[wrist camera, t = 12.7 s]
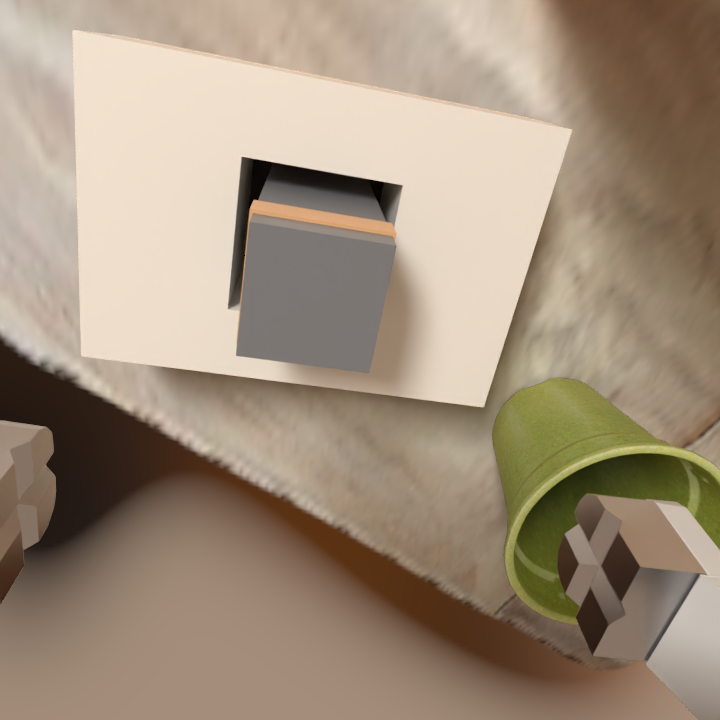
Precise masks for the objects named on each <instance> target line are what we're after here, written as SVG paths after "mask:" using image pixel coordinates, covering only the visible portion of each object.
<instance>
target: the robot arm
mask: <svg viewBox="0 0 720 720" xmlns="http://www.w3.org/2000/svg"><path fill="white" fill-rule="evenodd" d="M53 452H54V448H53V439H52V433H51V431H50V430H49V429H48V428H47V427H42V426H36V425H28V424H22V423H15V422H7V421H0V604H1V603H2V601H3V600H4V598H5V596H6V595H7V593H8V591H9V590H10V588H11V586H12V585H13V583H14V582H15V580H16V578H17V576H18V575H19V573H20V572H21V570H22V568H23V567H24V556H23V550H24V549H26V548H28V547H29V546H31V545H33V544H35V543H36V542H38V541H39V540H40V538H41V536H42V535H43V533H44V531H45V529H46V527H47V526H48V523H49V520H50V517H51V514H52V511H53V508H54V503H55V494H56V479H55V476H54V475H53V473H52V472H51V471H50V470H49V469H48V468H47V466H46V465H45V464H46V463H47V461H48V459H49V458H50V457H51V455H52V454H53ZM574 514H575V516H576V519H577V522H578V525H576V526H575V527H573V528H572V529H571V530H569V531H568V532H566V533H565V534H564V537H563V539H562V542H561V544H560V547H559V549H558V563H557V568H558V573H559V579H560V582H561V584H562V587H563V589H564V592H565V594H567V595H568V596H569V597H570V598H571V599H572V600H573V601H574V602H576V603H577V604H578V605H579V606H580V607H579V610H578V613H577V615H576V619H577V622H578V624H579V626H580V628H581V631H582V633H583V635H584V638H585V640H586V642H587V644H588V647H589V649H590V651H591V653H592V656H599V657H608V658H616V659H625V660H633V661H642V662H647V663H646V666H647V667H648V668H649V669H650V670H652V672H653V673H654V674H655V675H656V676H657V677H658V678H659V679H660V680H661V681H662V682H663V683H664V684H665V685H666V686H667V687H668V689H670V691H671V692H672V693H673V694H674V695H675V696H676V697H677V698H678V699H679V700H680V701H681V702H682V703H683V704H684V705H685V706H686V707H687V708H688V709H689V710H690V711H691V713H692V714H693V715H694V716H695V717H696V718H697V719H698V720H720V550H719V549H718V547H717V546H716V545H715V544H714V542H713V541H712V540H711V539H710V537H709V536H708V535H707V533H706V532H705V531H704V530H703V528H702V527H701V526H700V525H699V523H698V522H697V521H696V520H695V518H694V517H693V516H692V514H691V513H690V512H689V511H688V509H687V508H686V507H684V506H683V505H681V504H679V503H678V502H673V501H662V500H651V499H646V500H641V499H632V498H624V497H615V496H606V495H598V494H589V493H587V494H586V495H585V496H584V497H583V498H582V499H581V500H580V501H579V503H578V505H577V507H576V509H575V512H574Z"/></svg>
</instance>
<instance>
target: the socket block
mask: <svg viewBox="0 0 720 720" xmlns="http://www.w3.org/2000/svg"><path fill="white" fill-rule="evenodd" d="M73 64H74V102H75V139H76V177H77V214H78V252H79V289H80V327H81V356H83V357H91V358H99V359H107V360H115V361H122V362H130V363H138V364H146V365H154V366H162V367H170V368H177V369H185V370H193V371H201V372H209V373H217V374H225V375H232V376H240V377H248V378H256V379H264V380H272V381H280V382H287V383H295V384H303V385H311V386H319V387H327V388H335V389H342V390H350V391H358V392H366V393H374V394H382V395H390V396H398V397H405V398H413V399H421V400H429V401H437V402H445V403H453V404H460V405H468V406H476V407H484V405H485V402H486V399H487V396H488V392H489V389H490V386H491V383H492V380H493V377H494V374H495V371H496V367H497V364H498V361H499V358H500V355H501V352H502V349H503V345H504V342H505V339H506V336H507V333H508V330H509V327H510V324H511V320H512V317H513V314H514V311H515V308H516V305H517V302H518V299H519V295H520V292H521V289H522V286H523V283H524V280H525V277H526V273H527V270H528V267H529V264H530V261H531V258H532V255H533V252H534V248H535V245H536V242H537V239H538V236H539V233H540V230H541V227H542V223H543V220H544V217H545V214H546V211H547V208H548V205H549V201H550V198H551V195H552V192H553V189H554V186H555V183H556V180H557V176H558V173H559V170H560V167H561V164H562V161H563V158H564V155H565V151H566V148H567V145H568V142H569V139H570V136H571V133H572V129H568V128H565V127H561V126H558V125H554V124H550V123H547V122H543V121H540V120H536V119H532V118H529V117H525V116H520V115H515V114H510V113H505V112H500V111H495V110H490V109H485V108H480V107H475V106H470V105H465V104H460V103H455V102H450V101H445V100H440V99H435V98H430V97H425V96H420V95H415V94H410V93H405V92H400V91H395V90H390V89H385V88H380V87H375V86H370V85H365V84H360V83H355V82H350V81H345V80H340V79H336V78H331V77H326V76H321V75H316V74H311V73H306V72H301V71H296V70H291V69H286V68H281V67H276V66H271V65H266V64H261V63H256V62H251V61H246V60H241V59H236V58H231V57H226V56H221V55H216V54H211V53H206V52H201V51H196V50H191V49H186V48H181V47H176V46H171V45H166V44H161V43H156V42H151V41H146V40H141V39H136V38H131V37H126V36H121V35H112V34H103V33H95V32H86V31H78V30H73ZM253 159H258V160H264V161H269V162H275V163H280V164H286V165H292V166H297V167H303V168H308V169H314V170H320V171H325V172H331V173H337V174H342V175H348V176H353V177H359V178H365V179H370V180H376V181H381V182H384V184H383V189H382V194H381V199H380V204H379V206H380V208H381V211H382V213H383V215H384V218H385V220H386V222H389V223H392V224H393V227H394V229H395V231H396V233H397V234H396V238H395V243H396V245H397V247H396V251H395V256H394V261H393V265H392V270H391V275H390V279H389V284H388V289H387V293H386V298H385V303H384V307H383V312H382V317H381V321H380V326H379V331H378V335H377V340H376V345H375V349H374V354H373V359H372V363H371V368H370V373H363V372H355V371H347V370H340V369H332V368H324V367H317V366H309V365H302V364H294V363H286V362H279V361H271V360H263V359H256V358H248V357H241V356H236V349H237V344H236V340H237V330H238V320H239V310H240V300H241V290H242V281H243V271H244V267H243V259H244V249H245V238H246V228H247V218H248V208H249V198H250V188H251V178H252V168H253Z"/></svg>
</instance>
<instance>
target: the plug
mask: <svg viewBox="0 0 720 720" xmlns="http://www.w3.org/2000/svg"><path fill="white" fill-rule="evenodd" d="M396 234H397V233H396V231H395V229H394V227H393V224H392V223H389V222H386V220H385V218H384V215H383V213H382V211H381V208H380V206H379V204H378V201H377V199H376V197H375V195H374V192H373V190H372V188H371V185H370V183H369V181H368V179H362V178H356V177H351V176H345V175H339V174H334V173H328V172H323V171H317V170H311V169H306V168H300V167H294V166H289V165H283V164H278V163H273V165H272V167H271V170H270V172H269V175H268V177H267V180H266V182H265V185H264V187H263V189H262V192H261V194H260V197H259V199H258V200H253V202H252V205H251V207H250V211H249V221H248V231H247V241H246V251H245V261H244V271H243V281H242V290H241V300H240V310H239V320H238V330H237V340H236V344H237V349H236V356H241V357H248V358H256V359H263V360H271V361H279V362H286V363H294V364H302V365H309V366H317V367H324V368H332V369H340V370H347V371H355V372H363V373H370V368H371V363H372V359H373V354H374V349H375V345H376V340H377V335H378V331H379V326H380V321H381V317H382V312H383V307H384V303H385V298H386V293H387V289H388V284H389V279H390V275H391V270H392V265H393V261H394V256H395V251H396V247H397V245H396V243H395V238H396Z"/></svg>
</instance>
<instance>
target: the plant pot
mask: <svg viewBox="0 0 720 720" xmlns="http://www.w3.org/2000/svg"><path fill="white" fill-rule="evenodd" d="M493 446H494V450H495V455H496V459H497V464H498V468H499V472H500V477H501V481H502V486H503V491H504V496H505V501H506V506H507V511H508V523H507V536H506V540H505V545H504V564H505V570H506V573H507V576H508V579H509V582H510V584H511V586H512V588H513V590H514V591H515V593H516V594H517V596H518V597H519V598H520V599H521V600H522V601H523V602H524V603H525V604H526V605H528V606H529V607H530V608H531V609H533V610H535V611H536V612H538V613H539V614H541V615H543V616H545V617H547V618H549V619H552V620H556V621H559V622H562V623H568V624H572V625H579V624H578V622H577V619H576V615H577V613H578V610H579V607H580V606H579V605H578V604H577V603H576V602H574V601H573V600H572V599H571V598H570V597H569V596H568V595H567V594H565V592H564V589H563V587H562V584H561V582H560V579H559V573H558V568H557V563H558V549H559V547H560V544H561V542H562V539H563V537H564V534H565V533H566V532H568V531H569V530H571V529H572V528H573V527H575V526H576V525H578V522H577V519H576V516H575V514H574V512H575V509H576V507H577V505H578V503H579V501H580V500H581V499H582V498H583V497H584V496H585V495H586V494H587V493H589V494H598V495H606V496H615V497H624V498H632V499H641V500H646V499H651V500H662V501H673V502H678V503H679V504H681V505H683V506H684V507H686V508H687V509H688V511H689V512H690V513H691V514H692V516H693V517H694V518H695V520H696V521H697V522H698V523H699V525H700V526H701V527H702V528H703V530H704V531H705V532H706V533H707V535H708V536H709V537H710V539H711V540H712V541H713V542H714V544H715V545H716V546H717V547H718V549H719V550H720V470H719V469H718V468H717V467H716V466H715V465H713V464H712V463H711V462H710V461H708V460H707V459H705V458H704V457H702V456H700V455H698V454H696V453H694V452H692V451H689V450H687V449H684V448H681V447H677V446H673V445H670V444H668V443H666V442H664V441H662V440H659V439H656V438H655V437H654V436H652V435H651V434H650V433H648V432H647V431H646V430H645V429H643V428H642V427H641V426H640V425H638V424H637V423H636V422H634V421H633V420H632V419H631V418H629V417H628V416H627V415H625V414H624V413H623V412H622V411H620V410H619V409H618V408H617V407H615V406H614V405H613V404H612V403H610V402H609V401H608V400H607V399H605V398H604V397H603V396H602V395H600V394H599V393H598V392H596V391H595V390H594V389H593V388H591V387H590V386H588V385H587V384H585V383H583V382H580V381H577V380H573V379H567V378H553V379H549V380H547V381H545V382H543V383H540V384H537V385H534V386H531V387H528V388H525V389H522V390H520V391H518V392H517V393H516V394H514V395H513V396H512V397H511V398H510V399H509V400H508V401H507V402H506V403H505V404H504V405H503V407H502V408H501V410H500V411H499V413H498V415H497V417H496V420H495V423H494V427H493Z"/></svg>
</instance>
